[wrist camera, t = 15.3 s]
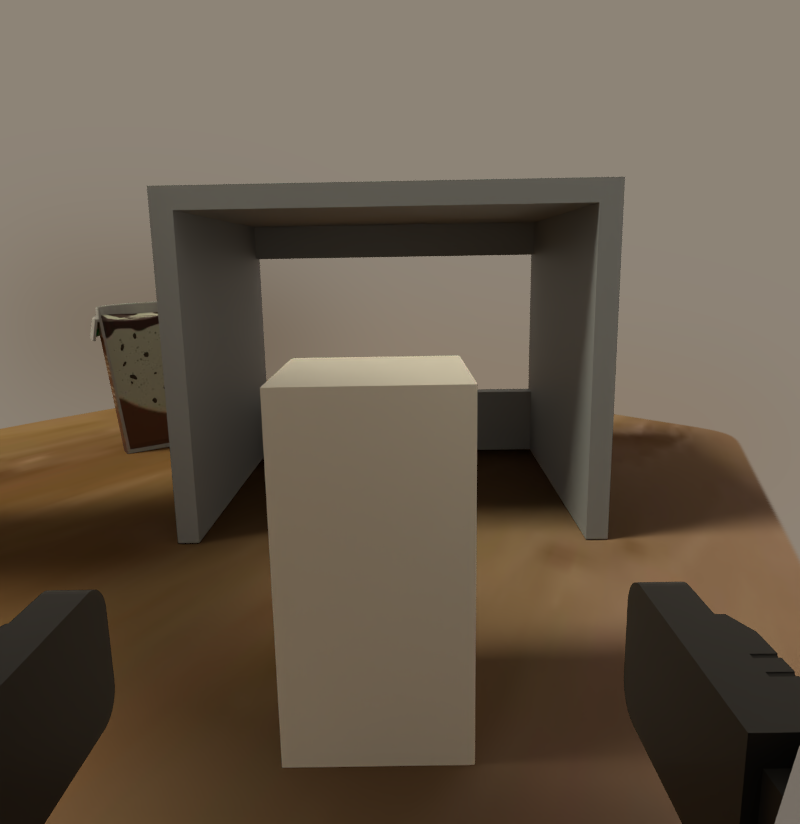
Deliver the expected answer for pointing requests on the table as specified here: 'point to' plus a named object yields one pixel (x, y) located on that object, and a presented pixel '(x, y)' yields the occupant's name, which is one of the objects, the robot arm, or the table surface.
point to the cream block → (373, 559)
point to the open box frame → (387, 237)
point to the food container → (134, 372)
